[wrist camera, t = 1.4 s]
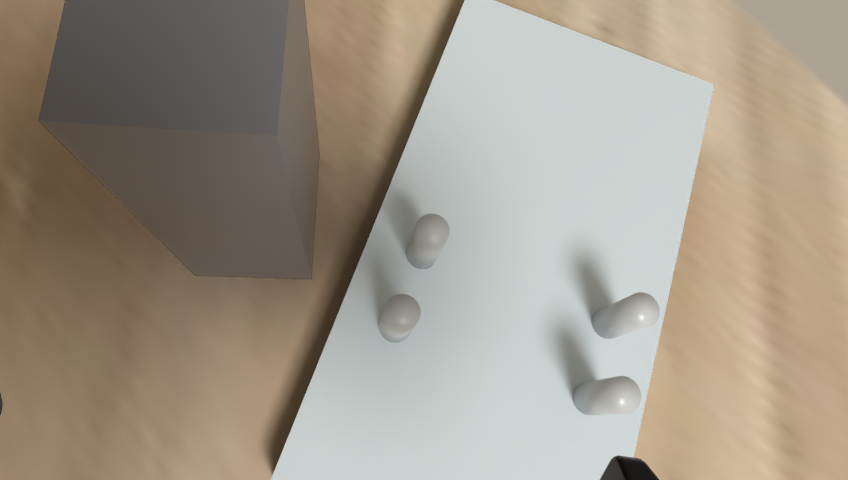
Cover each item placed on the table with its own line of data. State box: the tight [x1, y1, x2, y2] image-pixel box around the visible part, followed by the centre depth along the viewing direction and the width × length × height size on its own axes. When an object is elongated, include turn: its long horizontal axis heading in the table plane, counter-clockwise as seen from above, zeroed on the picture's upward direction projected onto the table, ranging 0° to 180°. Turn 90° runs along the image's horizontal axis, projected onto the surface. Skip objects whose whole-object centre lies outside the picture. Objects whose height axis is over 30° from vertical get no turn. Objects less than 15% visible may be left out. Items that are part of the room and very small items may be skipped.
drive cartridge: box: [39, 0, 320, 279], centre depth 19 cm, size 6×4×12 cm
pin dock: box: [271, 0, 714, 480], centre depth 23 cm, size 22×12×4 cm, turn 161°
